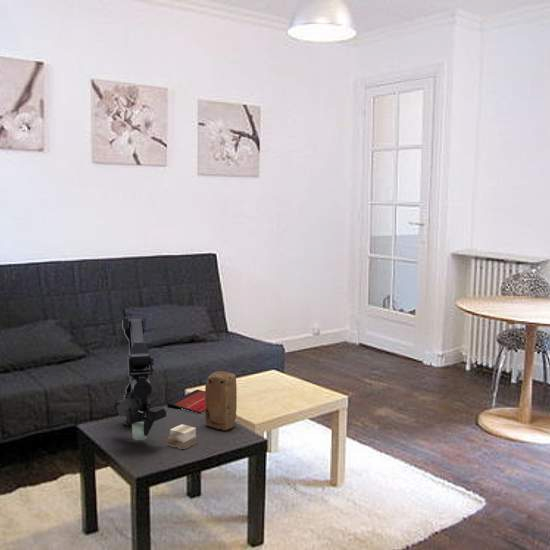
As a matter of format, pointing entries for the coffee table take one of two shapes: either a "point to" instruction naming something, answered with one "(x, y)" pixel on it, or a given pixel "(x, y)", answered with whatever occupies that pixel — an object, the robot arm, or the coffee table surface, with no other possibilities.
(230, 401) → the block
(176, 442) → the tower base
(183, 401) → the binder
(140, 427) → the pale green cube
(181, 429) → the tower top
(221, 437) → the coffee table surface
